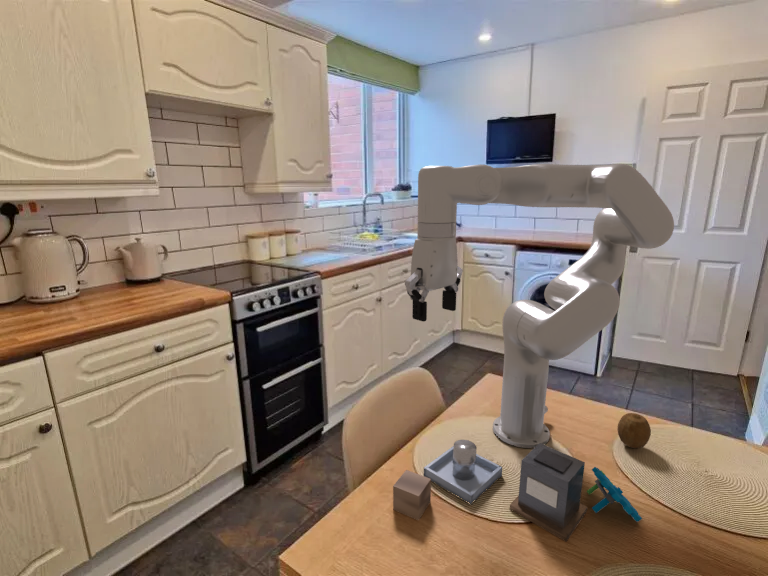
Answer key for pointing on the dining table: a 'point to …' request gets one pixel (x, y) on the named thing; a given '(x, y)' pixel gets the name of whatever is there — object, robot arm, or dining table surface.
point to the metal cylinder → (464, 459)
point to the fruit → (634, 430)
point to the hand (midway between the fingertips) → (434, 314)
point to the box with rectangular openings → (551, 491)
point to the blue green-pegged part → (611, 495)
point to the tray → (464, 489)
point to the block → (412, 494)
